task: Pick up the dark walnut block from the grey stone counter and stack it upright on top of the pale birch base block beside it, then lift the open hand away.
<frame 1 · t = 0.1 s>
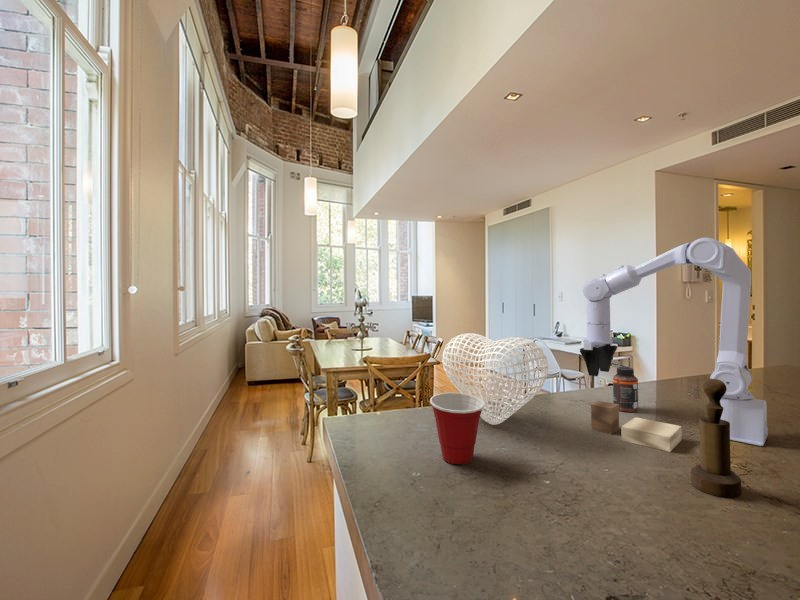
hand: (599, 373, 107), 10 cm above the counter, fingers open, 7 cm apart
plastic cup: (458, 460, 78), on the counter
heart: (492, 425, 98), on the counter
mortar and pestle: (715, 489, 65), on the counter
birch base block: (651, 440, 86), on the counter
supplement bottle: (625, 410, 108), on the counter
walnut block: (605, 429, 93), on the counter
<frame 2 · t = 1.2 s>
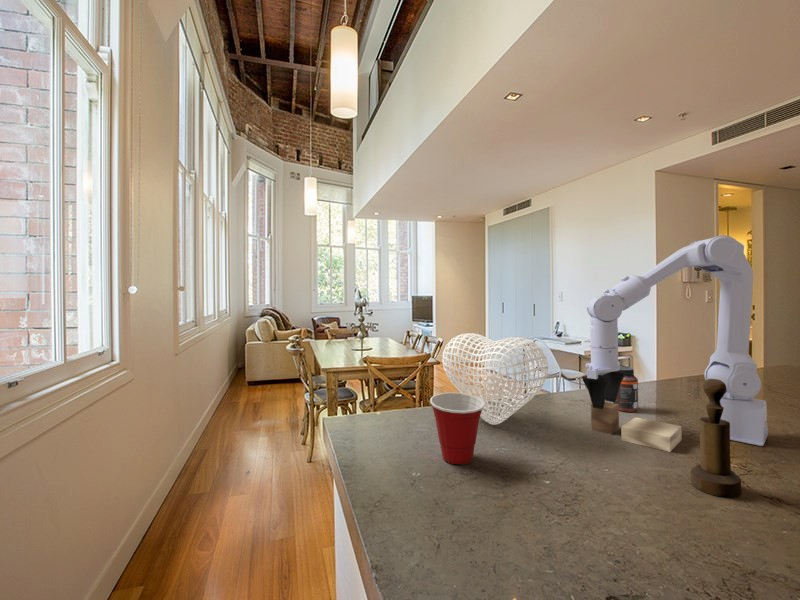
hand: (604, 404, 93), 6 cm above the counter, fingers open, 7 cm apart
nothing on the counter moved.
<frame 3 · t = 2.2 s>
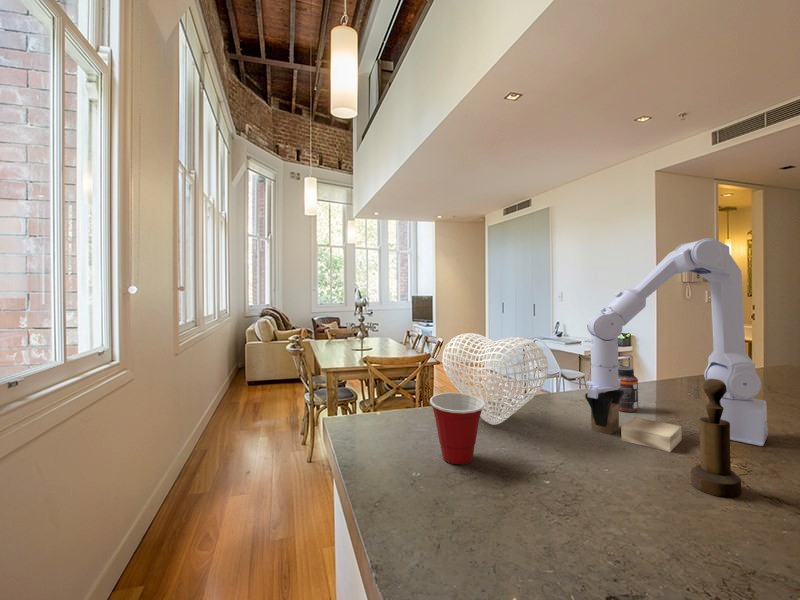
hand: (605, 422, 93), 2 cm above the counter, fingers closed on walnut block, 4 cm apart
walnut block: (605, 429, 93), on the counter, touching gripper
everything else where it was.
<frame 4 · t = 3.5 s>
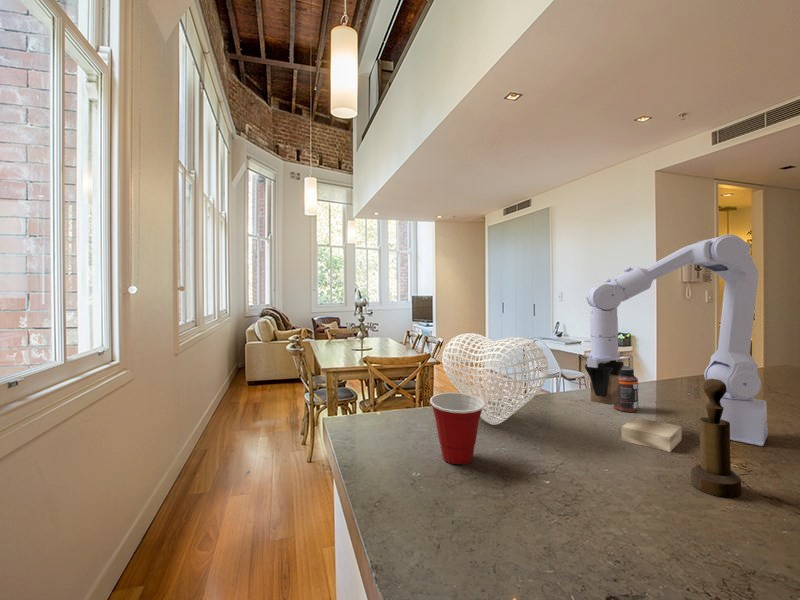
hand: (604, 393, 93), 8 cm above the counter, fingers closed on walnut block, 4 cm apart
walnut block: (604, 401, 93), point 7 cm above the counter, touching gripper
everything else where it was.
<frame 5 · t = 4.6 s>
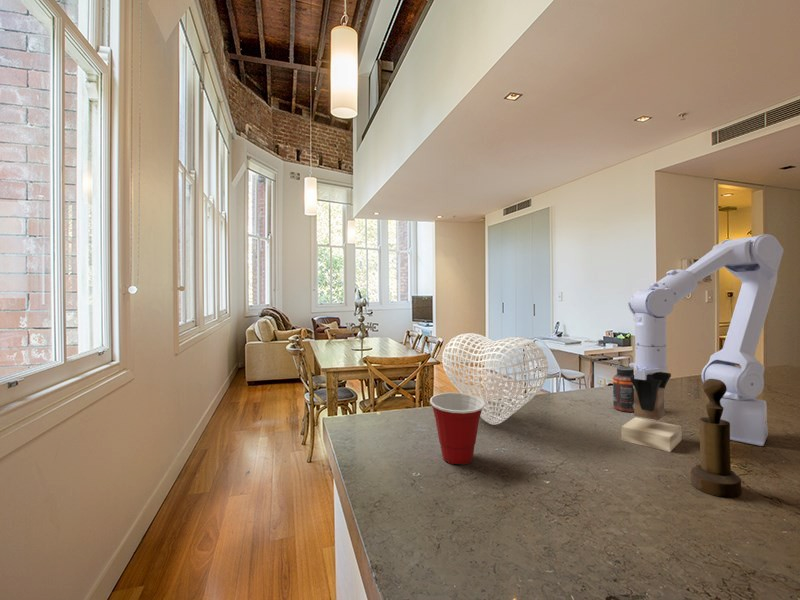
hand: (650, 407, 86), 7 cm above the counter, fingers closed on walnut block, 4 cm apart
walnut block: (649, 415, 86), point 5 cm above the counter, touching gripper
everything else where it was.
when the fingers open (6 cm above the counter, at t = 5.2 s): walnut block drops 1 cm, resting on birch base block.
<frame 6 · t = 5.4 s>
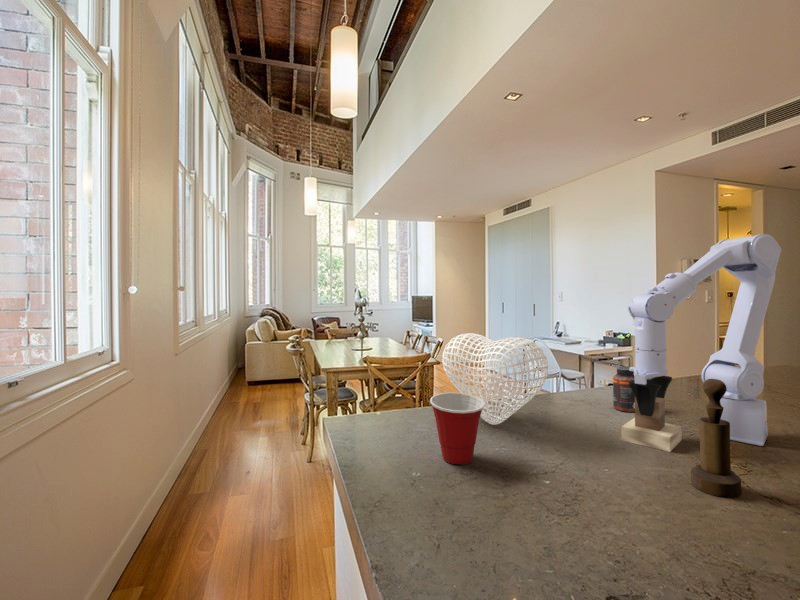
hand: (651, 411, 86), 6 cm above the counter, fingers open, 6 cm apart
walnut block: (649, 426, 86), point 3 cm above the counter, touching birch base block
everything else where it was.
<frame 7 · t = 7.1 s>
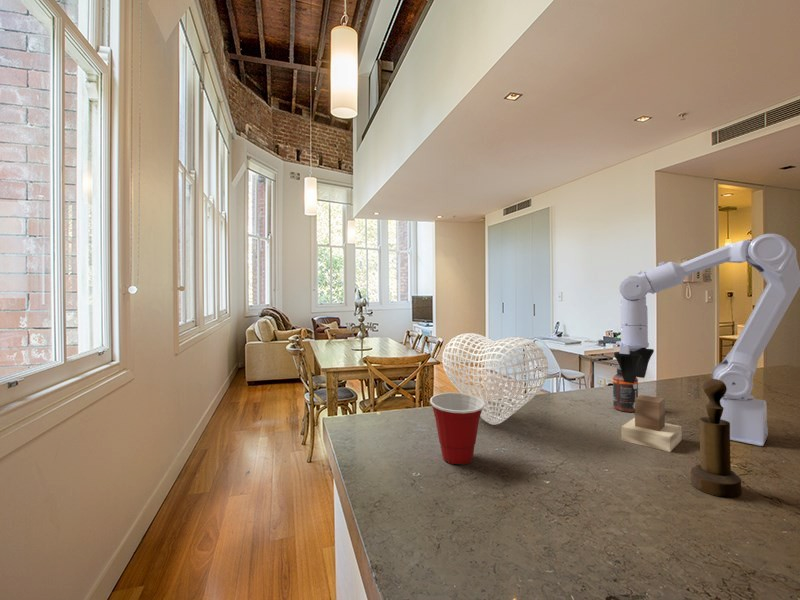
hand: (634, 379, 98), 10 cm above the counter, fingers open, 7 cm apart
nothing on the counter moved.
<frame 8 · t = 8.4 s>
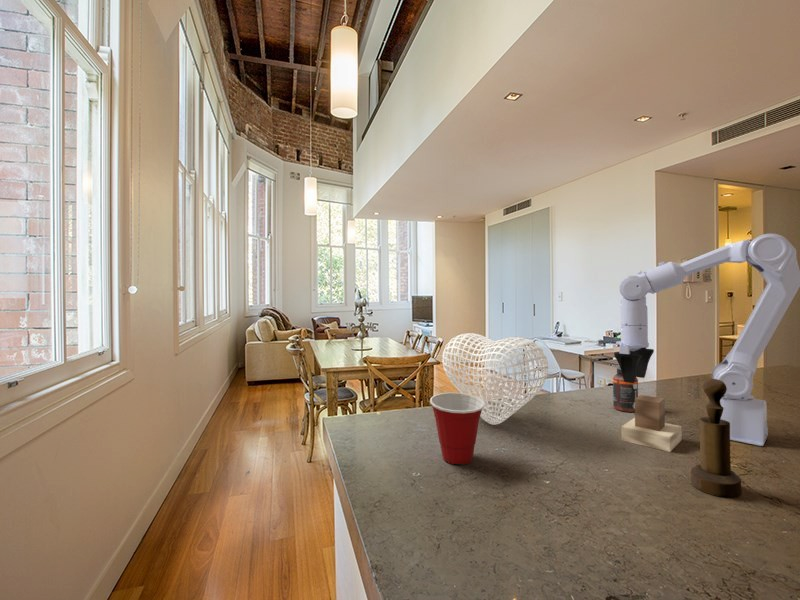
hand: (634, 379, 98), 10 cm above the counter, fingers open, 7 cm apart
nothing on the counter moved.
at the end: walnut block 0.3 cm off-centre on the birch base block, point 3.0 cm above the birch base block's base; walnut block tilted 0°; the gripper is holding nothing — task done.
